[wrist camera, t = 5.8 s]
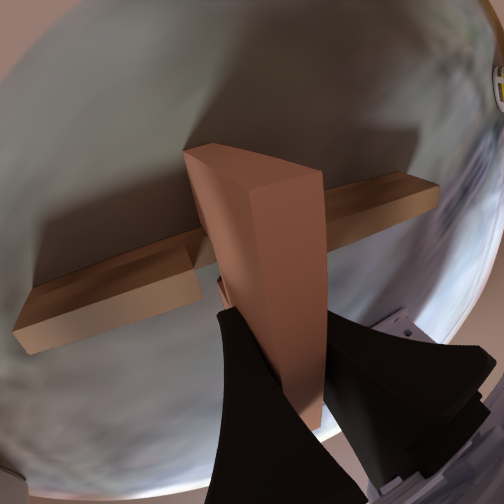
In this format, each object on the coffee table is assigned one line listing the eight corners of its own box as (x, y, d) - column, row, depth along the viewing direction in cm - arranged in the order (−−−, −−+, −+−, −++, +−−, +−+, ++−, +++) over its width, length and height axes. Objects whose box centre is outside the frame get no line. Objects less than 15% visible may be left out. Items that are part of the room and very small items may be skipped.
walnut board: (399, 171, 14) (440, 185, 11) (399, 190, 14) (438, 206, 12) (31, 289, 9) (11, 332, 7) (44, 309, 10) (29, 355, 7)
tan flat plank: (182, 150, 9) (248, 190, 4) (212, 142, 10) (322, 171, 4) (230, 327, 14) (291, 440, 8) (252, 319, 14) (320, 426, 8)
